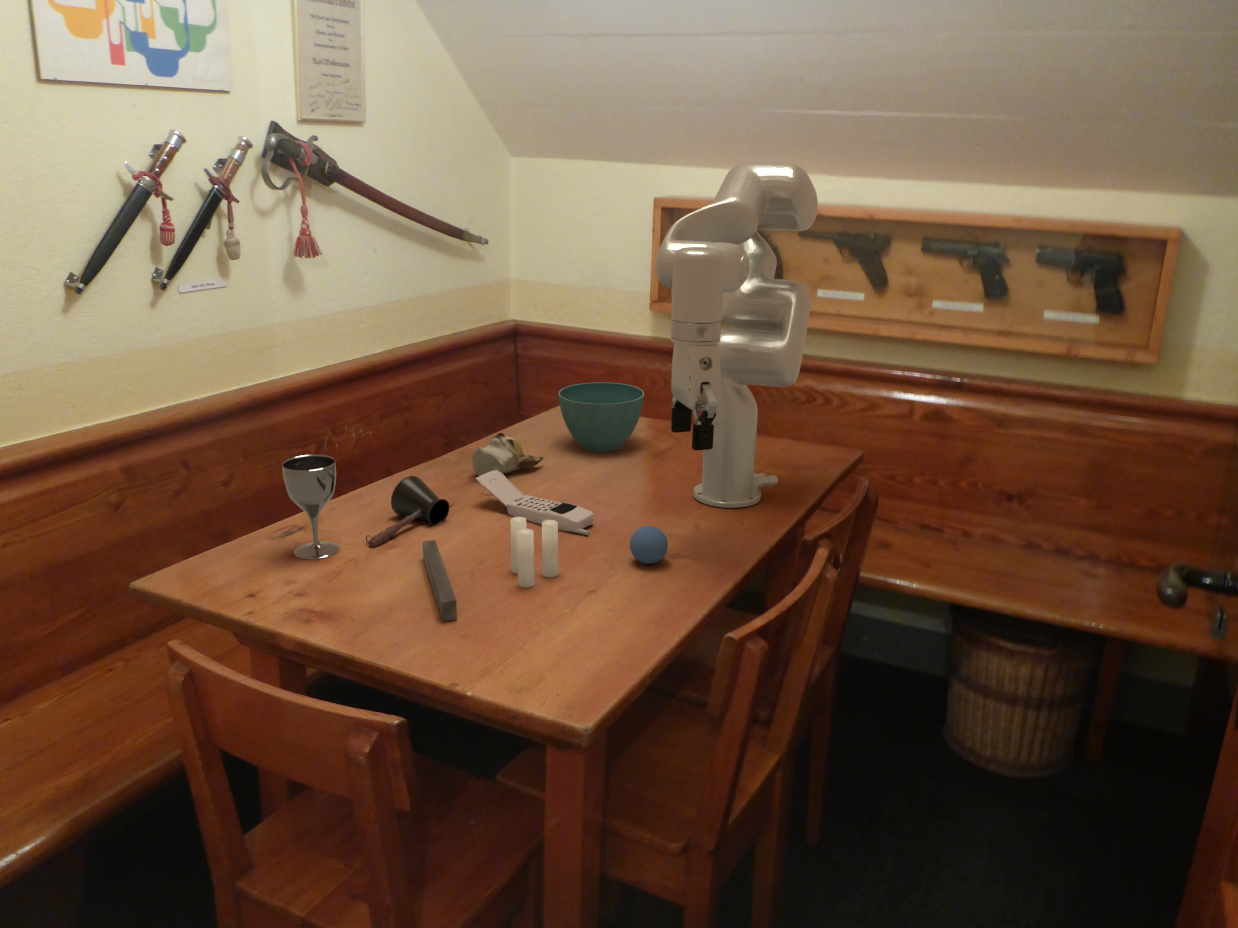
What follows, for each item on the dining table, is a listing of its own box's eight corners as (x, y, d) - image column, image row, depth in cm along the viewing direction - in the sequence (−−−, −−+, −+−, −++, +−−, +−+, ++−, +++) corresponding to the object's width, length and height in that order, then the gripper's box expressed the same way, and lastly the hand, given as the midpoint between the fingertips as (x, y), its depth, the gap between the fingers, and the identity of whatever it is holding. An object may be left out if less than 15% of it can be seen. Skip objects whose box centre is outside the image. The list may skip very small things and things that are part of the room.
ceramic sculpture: (456, 434, 189) (505, 421, 202) (456, 477, 192) (504, 462, 204) (500, 444, 184) (547, 430, 196) (499, 488, 186) (545, 471, 199)
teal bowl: (612, 465, 200) (613, 408, 196) (541, 450, 209) (541, 394, 206) (658, 444, 215) (659, 390, 211) (590, 430, 224) (590, 378, 220)
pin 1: (525, 566, 153) (524, 516, 150) (528, 572, 151) (527, 521, 148) (510, 568, 152) (508, 517, 149) (513, 574, 150) (512, 523, 147)
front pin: (555, 569, 152) (555, 519, 149) (559, 576, 150) (559, 524, 147) (540, 571, 151) (540, 520, 148) (544, 578, 149) (543, 526, 146)
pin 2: (532, 579, 148) (531, 527, 146) (536, 586, 146) (535, 533, 143) (516, 581, 148) (515, 529, 145) (520, 588, 145) (519, 535, 143)
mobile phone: (494, 468, 180) (605, 496, 167) (496, 498, 182) (605, 528, 169) (472, 477, 175) (584, 506, 162) (474, 508, 177) (584, 539, 164)
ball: (659, 552, 159) (660, 518, 157) (672, 567, 153) (674, 532, 151) (624, 556, 157) (625, 522, 155) (636, 572, 151) (637, 536, 149)
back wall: (436, 557, 156) (435, 540, 155) (457, 619, 136) (456, 600, 135) (423, 558, 155) (422, 541, 154) (442, 621, 135) (441, 602, 134)
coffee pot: (422, 504, 177) (455, 521, 173) (342, 546, 165) (376, 566, 160) (420, 468, 173) (454, 485, 169) (339, 508, 161) (373, 528, 157)
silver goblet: (314, 564, 152) (306, 473, 148) (280, 553, 156) (271, 464, 152) (352, 547, 159) (346, 460, 154) (319, 537, 163) (311, 451, 158)
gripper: (741, 341, 140) (734, 455, 145) (699, 320, 156) (695, 424, 161) (691, 343, 138) (687, 458, 143) (654, 322, 154) (651, 426, 159)
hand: (691, 440), depth 152 cm, fingers open, 9 cm apart
